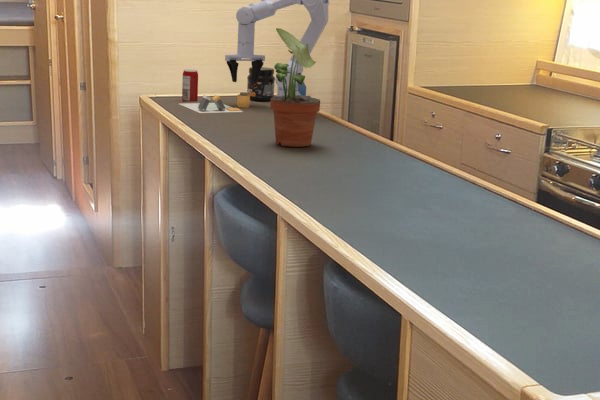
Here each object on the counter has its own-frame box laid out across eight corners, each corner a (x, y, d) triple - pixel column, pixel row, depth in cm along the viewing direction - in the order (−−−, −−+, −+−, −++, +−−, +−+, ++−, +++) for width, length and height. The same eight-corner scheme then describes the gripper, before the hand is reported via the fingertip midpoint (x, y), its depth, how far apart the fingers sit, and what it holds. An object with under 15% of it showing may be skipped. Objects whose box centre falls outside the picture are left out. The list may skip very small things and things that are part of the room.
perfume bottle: (283, 102, 335) (284, 71, 332) (291, 101, 341) (292, 69, 338) (297, 104, 333) (299, 72, 330) (305, 103, 338) (307, 71, 335)
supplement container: (242, 97, 342) (243, 66, 339) (267, 97, 347) (268, 66, 344) (253, 102, 333) (254, 70, 330) (278, 101, 337) (280, 70, 334)
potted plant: (257, 146, 252) (263, 20, 243) (279, 138, 265) (285, 18, 257) (308, 153, 246) (316, 24, 237) (328, 144, 260) (336, 23, 251)
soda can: (198, 102, 325) (199, 69, 322) (195, 104, 320) (196, 70, 317) (183, 101, 326) (184, 68, 323) (180, 103, 320) (181, 69, 317)
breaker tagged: (226, 109, 301) (219, 96, 299) (222, 112, 301) (215, 99, 298) (222, 107, 304) (215, 95, 302) (218, 110, 304) (211, 97, 301)
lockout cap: (251, 110, 313) (252, 93, 312) (240, 111, 311) (240, 93, 309) (246, 108, 317) (246, 91, 315) (234, 109, 315) (235, 92, 313)
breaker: (205, 112, 298) (211, 98, 297) (201, 110, 297) (207, 96, 296) (201, 110, 301) (207, 96, 300) (196, 108, 300) (203, 94, 300)
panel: (243, 115, 302) (243, 110, 302) (199, 116, 295) (199, 111, 294) (219, 106, 319) (220, 101, 319) (177, 107, 311) (178, 102, 311)
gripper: (259, 41, 315) (257, 79, 318) (222, 41, 308) (220, 80, 311) (268, 43, 309) (266, 82, 312) (230, 43, 302) (228, 83, 305)
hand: (244, 81), depth 311 cm, fingers open, 7 cm apart
